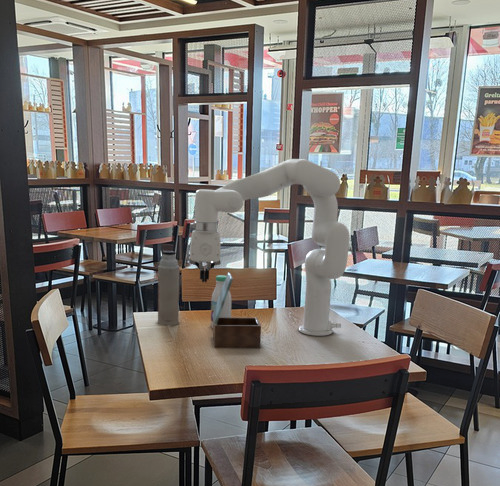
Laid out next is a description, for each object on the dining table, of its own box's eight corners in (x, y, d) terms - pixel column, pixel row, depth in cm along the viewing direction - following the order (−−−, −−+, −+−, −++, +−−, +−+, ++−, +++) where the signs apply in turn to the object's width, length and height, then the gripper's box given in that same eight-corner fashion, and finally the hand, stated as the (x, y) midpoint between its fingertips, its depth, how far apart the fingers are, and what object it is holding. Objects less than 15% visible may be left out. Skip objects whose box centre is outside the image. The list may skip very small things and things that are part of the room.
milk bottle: (231, 325, 223) (233, 274, 219) (229, 330, 216) (231, 278, 211) (212, 324, 224) (213, 273, 219) (209, 329, 216) (210, 277, 212)
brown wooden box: (255, 338, 207) (256, 317, 206) (260, 347, 196) (261, 325, 195) (212, 338, 205) (213, 317, 204) (214, 347, 194) (215, 325, 193)
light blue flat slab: (230, 273, 201) (227, 272, 201) (233, 279, 190) (230, 278, 190) (214, 316, 204) (212, 315, 203) (216, 324, 193) (214, 323, 193)
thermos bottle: (155, 324, 220) (155, 252, 213) (161, 319, 227) (161, 249, 221) (175, 326, 219) (176, 253, 212) (180, 321, 226) (181, 250, 220)
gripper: (183, 227, 186) (182, 283, 190) (229, 229, 188) (227, 284, 192) (183, 225, 193) (182, 278, 197) (227, 227, 195) (225, 280, 199)
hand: (204, 281), depth 195 cm, fingers closed
